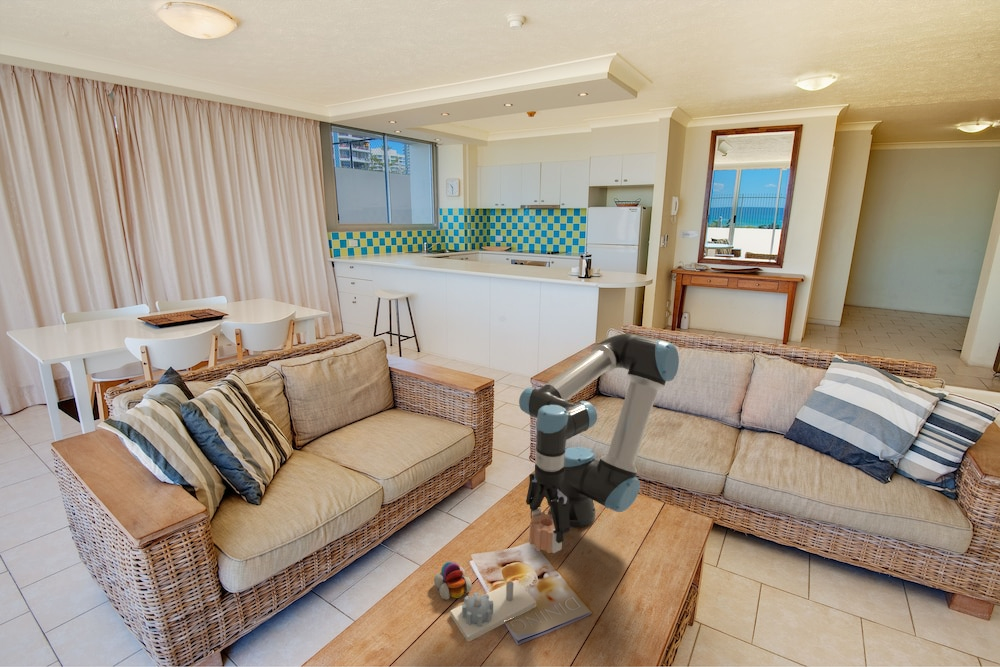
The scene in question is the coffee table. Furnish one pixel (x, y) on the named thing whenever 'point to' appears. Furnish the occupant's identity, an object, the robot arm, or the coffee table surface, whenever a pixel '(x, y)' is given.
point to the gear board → (491, 609)
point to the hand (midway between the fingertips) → (545, 540)
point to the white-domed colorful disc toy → (452, 581)
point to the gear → (541, 532)
